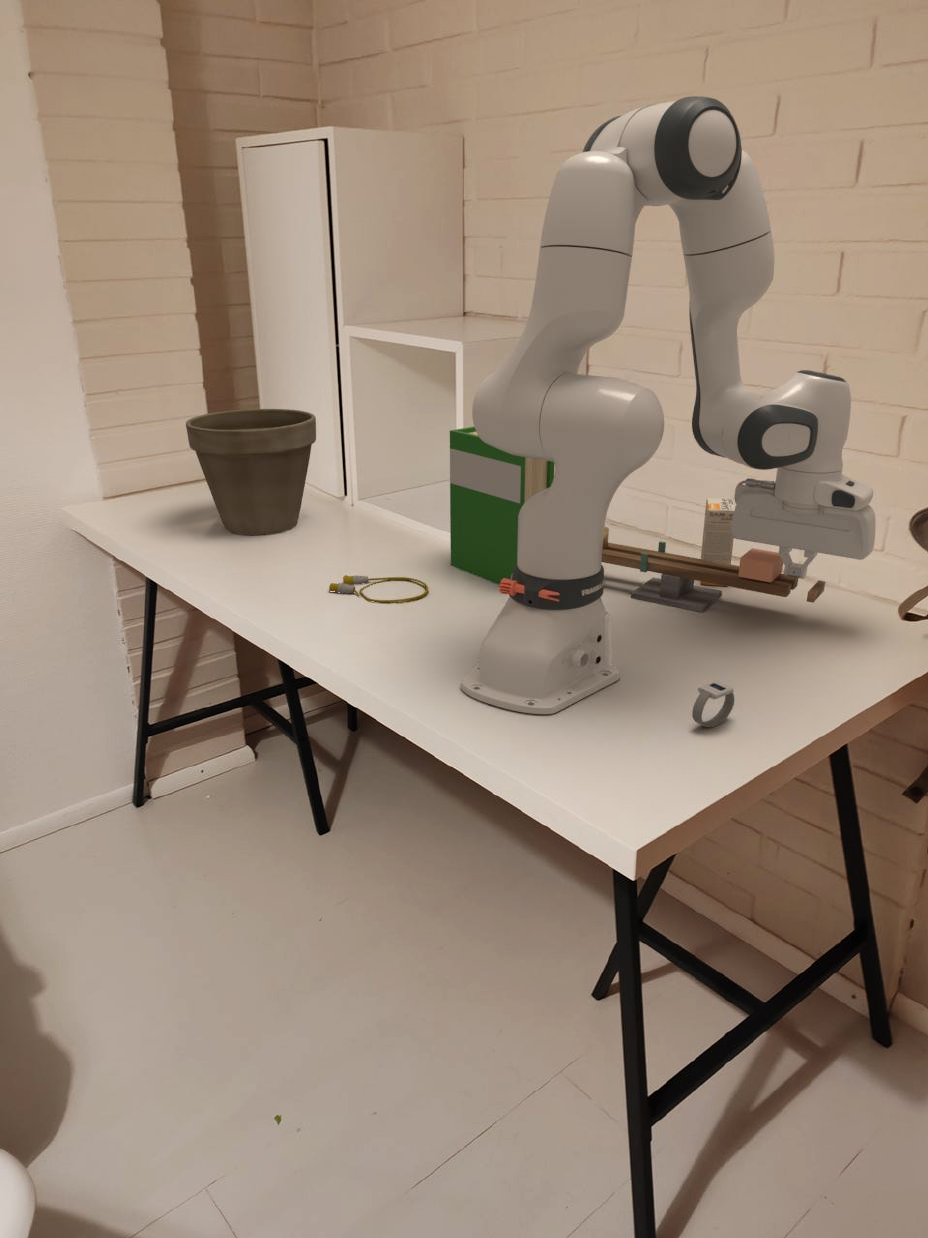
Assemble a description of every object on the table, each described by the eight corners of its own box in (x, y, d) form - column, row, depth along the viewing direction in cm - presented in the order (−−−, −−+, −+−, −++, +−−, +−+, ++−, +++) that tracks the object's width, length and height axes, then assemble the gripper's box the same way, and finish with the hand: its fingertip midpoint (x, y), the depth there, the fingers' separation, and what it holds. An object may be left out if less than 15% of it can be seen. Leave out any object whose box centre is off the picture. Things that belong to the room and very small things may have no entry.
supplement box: (729, 587, 160) (737, 511, 155) (700, 585, 161) (707, 509, 156) (727, 571, 168) (735, 498, 163) (698, 569, 169) (705, 496, 164)
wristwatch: (703, 736, 113) (707, 698, 111) (685, 727, 115) (689, 690, 113) (737, 722, 116) (742, 684, 114) (719, 713, 118) (723, 676, 117)
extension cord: (371, 573, 168) (370, 562, 168) (442, 591, 160) (442, 580, 159) (322, 593, 159) (322, 582, 158) (396, 613, 151) (395, 602, 150)
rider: (769, 592, 144) (773, 563, 143) (737, 586, 147) (740, 557, 145) (780, 582, 149) (784, 553, 147) (748, 576, 151) (752, 548, 149)
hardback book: (550, 582, 163) (555, 440, 154) (518, 592, 158) (521, 447, 149) (482, 557, 175) (482, 425, 166) (450, 565, 171) (449, 430, 162)
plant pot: (187, 516, 200) (175, 411, 192) (302, 503, 210) (295, 403, 202) (211, 550, 179) (198, 434, 171) (337, 533, 189) (331, 423, 181)
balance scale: (806, 634, 141) (814, 576, 138) (544, 579, 164) (545, 528, 160) (822, 615, 148) (830, 559, 145) (568, 565, 171) (570, 516, 167)
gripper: (729, 480, 142) (720, 569, 147) (875, 500, 131) (859, 595, 136) (743, 472, 147) (734, 558, 152) (885, 491, 136) (869, 582, 141)
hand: (794, 576), depth 144 cm, fingers closed
